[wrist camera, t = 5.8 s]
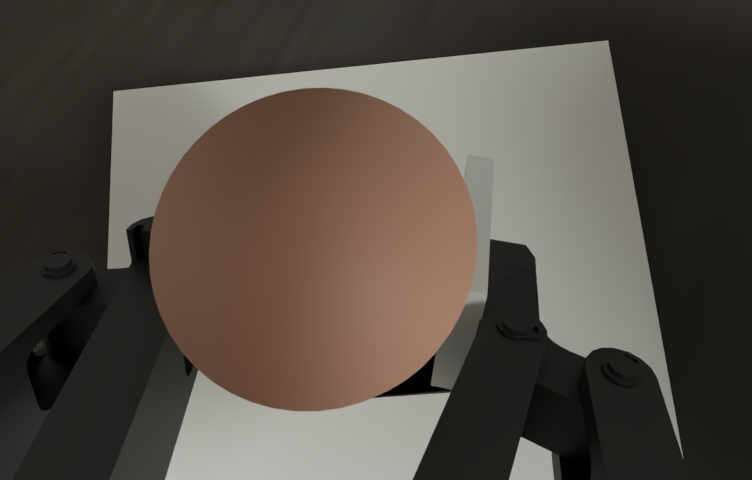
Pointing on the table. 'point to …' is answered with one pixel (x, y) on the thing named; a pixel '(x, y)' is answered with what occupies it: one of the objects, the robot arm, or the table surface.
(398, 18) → the table surface
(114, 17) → the table surface
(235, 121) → the plug
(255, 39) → the table surface
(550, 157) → the socket block
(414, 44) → the table surface
